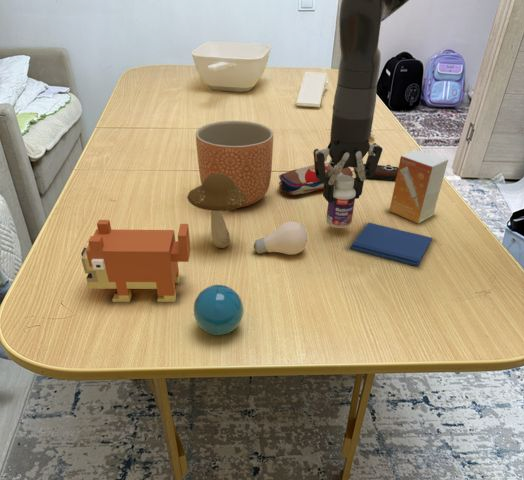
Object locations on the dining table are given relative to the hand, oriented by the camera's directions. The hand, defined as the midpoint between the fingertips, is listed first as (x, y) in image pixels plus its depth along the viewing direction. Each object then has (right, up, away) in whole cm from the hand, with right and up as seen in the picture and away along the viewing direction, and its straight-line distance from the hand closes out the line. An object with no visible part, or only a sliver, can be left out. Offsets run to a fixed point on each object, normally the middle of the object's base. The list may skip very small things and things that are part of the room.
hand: (342, 198), depth 101 cm
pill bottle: (0, -4, +4) cm, 6 cm away
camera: (+15, +15, +28) cm, 35 cm away
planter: (-23, +5, +16) cm, 28 cm away
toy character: (-38, -21, -13) cm, 45 cm away
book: (+10, -9, +1) cm, 14 cm away
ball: (-24, -28, -20) cm, 42 cm away
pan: (-29, +66, +84) cm, 111 cm away
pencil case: (-3, +9, +22) cm, 24 cm away
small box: (+18, 0, +12) cm, 21 cm away
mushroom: (-25, -10, -1) cm, 27 cm away
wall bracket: (+2, +62, +81) cm, 102 cm away
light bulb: (-13, -12, -2) cm, 17 cm away
